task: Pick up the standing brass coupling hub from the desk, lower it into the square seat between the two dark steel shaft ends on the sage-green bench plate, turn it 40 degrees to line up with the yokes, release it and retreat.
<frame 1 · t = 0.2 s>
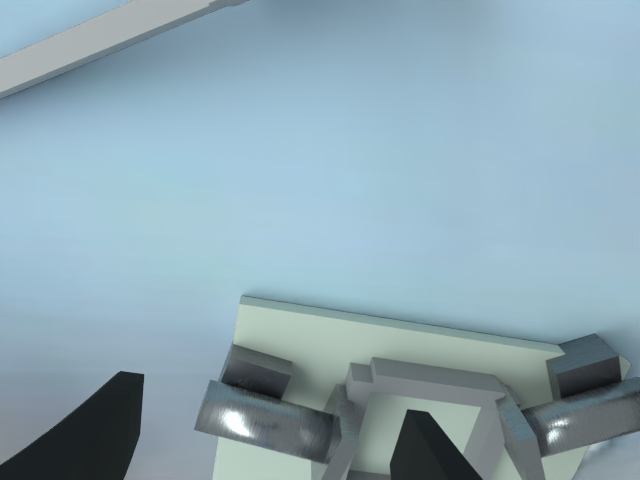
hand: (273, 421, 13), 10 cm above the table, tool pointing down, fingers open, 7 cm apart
caliper: (154, 28, 18), on the table
bench plate: (404, 434, 26), on the table
shaft 1: (273, 414, 22), resting on bench plate
shaft 2: (570, 411, 23), resting on bench plate
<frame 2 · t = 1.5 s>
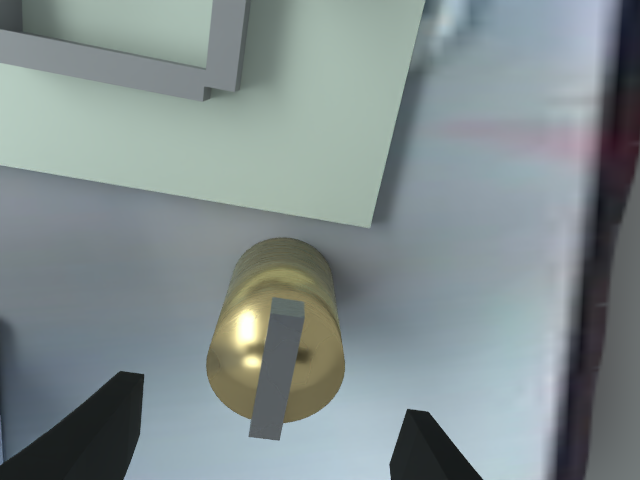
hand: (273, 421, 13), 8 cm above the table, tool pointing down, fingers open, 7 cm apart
coupling hub: (282, 284, 20), on the table
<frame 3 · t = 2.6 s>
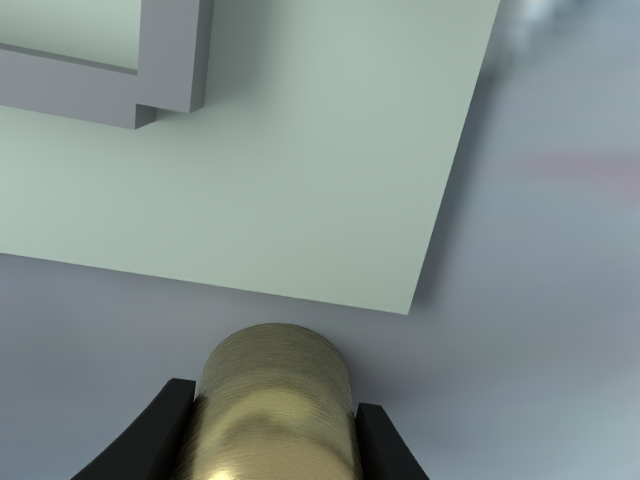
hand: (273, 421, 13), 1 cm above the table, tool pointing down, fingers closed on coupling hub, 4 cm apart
coupling hub: (276, 387, 14), on the table, touching gripper
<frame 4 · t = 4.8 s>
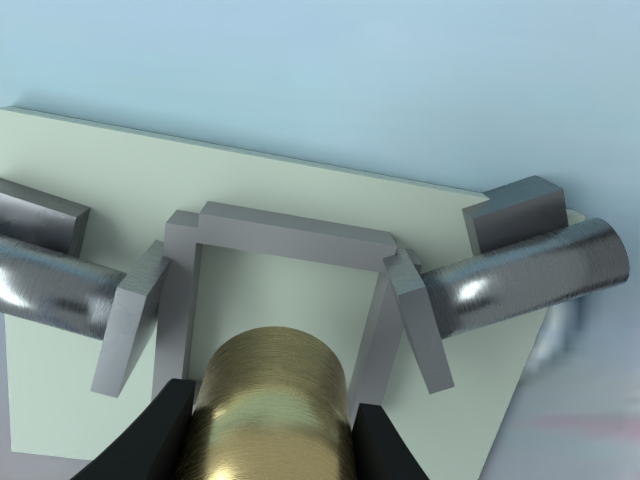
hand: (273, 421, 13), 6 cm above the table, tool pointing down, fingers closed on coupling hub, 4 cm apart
bench plate: (277, 331, 19), on the table
coupling hub: (275, 386, 15), point 4 cm above the table, touching gripper
shaft 1: (52, 276, 15), resting on bench plate
shaft 2: (494, 275, 15), resting on bench plate
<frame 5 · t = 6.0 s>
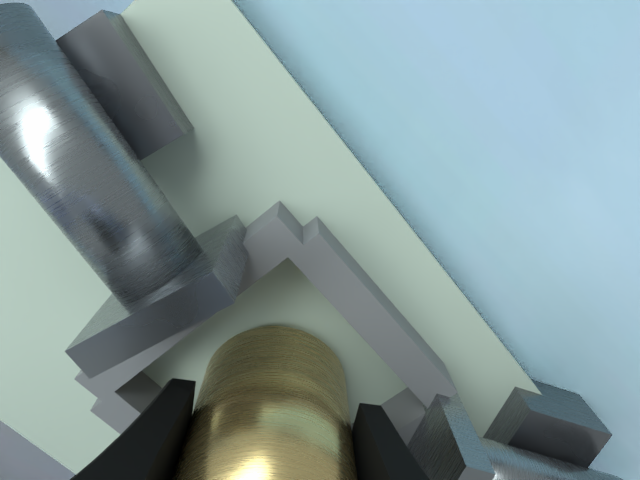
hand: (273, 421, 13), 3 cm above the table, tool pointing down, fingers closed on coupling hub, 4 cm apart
bench plate: (256, 372, 16), on the table
coupling hub: (275, 386, 15), point 1 cm above the table, touching gripper
shaft 1: (102, 175, 11), resting on bench plate
shaft 2: (509, 471, 14), resting on bench plate
when the fingers open (3 cm above the table, at t = 6.9 s): coupling hub stays where it is, resting on bench plate.
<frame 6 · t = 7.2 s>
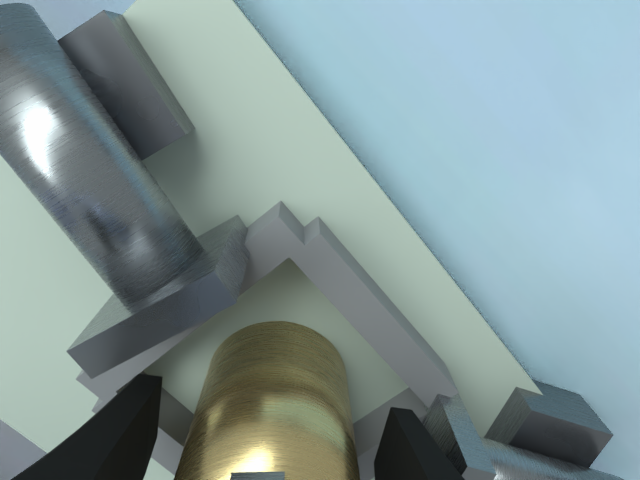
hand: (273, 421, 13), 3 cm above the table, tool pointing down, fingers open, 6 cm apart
bench plate: (257, 372, 16), on the table
coupling hub: (277, 381, 15), point 1 cm above the table, touching bench plate
shaft 1: (104, 175, 11), resting on bench plate
shaft 2: (510, 471, 14), resting on bench plate
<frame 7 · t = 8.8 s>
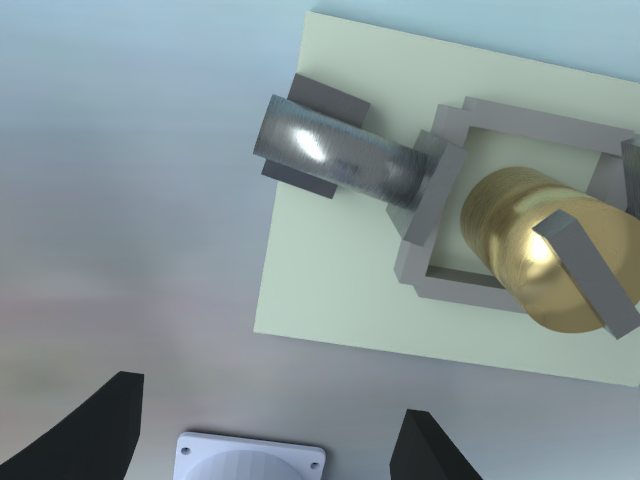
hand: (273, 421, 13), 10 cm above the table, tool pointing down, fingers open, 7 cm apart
bench plate: (492, 224, 21), on the table
coupling hub: (509, 216, 20), point 1 cm above the table, touching bench plate
shaft 1: (348, 154, 18), resting on bench plate
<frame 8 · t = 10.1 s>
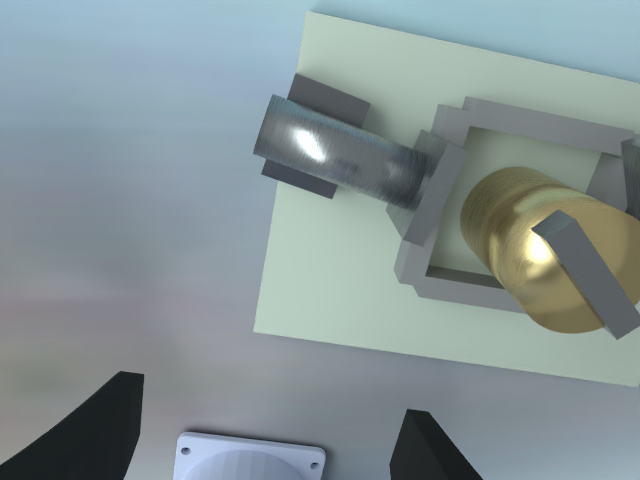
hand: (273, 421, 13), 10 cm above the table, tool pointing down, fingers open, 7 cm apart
bench plate: (492, 224, 21), on the table
coupling hub: (509, 216, 20), point 1 cm above the table, touching bench plate
shaft 1: (348, 154, 18), resting on bench plate
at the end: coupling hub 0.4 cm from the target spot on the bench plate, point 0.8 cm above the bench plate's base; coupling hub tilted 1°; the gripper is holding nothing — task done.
